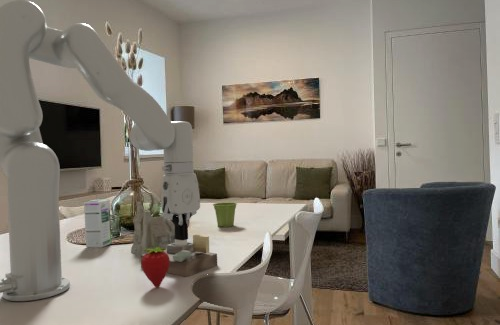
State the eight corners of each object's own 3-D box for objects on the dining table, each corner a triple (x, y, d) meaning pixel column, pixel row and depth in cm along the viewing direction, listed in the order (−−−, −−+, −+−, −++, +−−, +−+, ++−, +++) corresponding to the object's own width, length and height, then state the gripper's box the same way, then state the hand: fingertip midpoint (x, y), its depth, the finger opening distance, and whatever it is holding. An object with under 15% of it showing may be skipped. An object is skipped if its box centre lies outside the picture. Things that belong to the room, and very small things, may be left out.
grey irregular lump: (142, 258, 111) (143, 203, 112) (124, 250, 125) (125, 200, 125) (194, 253, 120) (195, 202, 120) (172, 245, 133) (172, 199, 134)
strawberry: (139, 294, 83) (137, 245, 83) (144, 282, 91) (143, 237, 90) (169, 292, 84) (167, 243, 84) (171, 280, 91) (170, 236, 91)
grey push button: (181, 251, 104) (180, 241, 104) (172, 249, 106) (172, 239, 106) (189, 248, 107) (189, 238, 107) (181, 247, 109) (181, 237, 109)
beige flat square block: (206, 253, 101) (205, 237, 101) (193, 251, 104) (192, 235, 104) (209, 252, 102) (208, 236, 102) (196, 250, 105) (196, 234, 105)
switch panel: (186, 276, 94) (185, 256, 94) (141, 266, 103) (140, 248, 103) (217, 265, 103) (216, 246, 103) (173, 257, 112) (172, 239, 112)
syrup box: (102, 247, 126) (100, 201, 126) (85, 247, 128) (83, 201, 127) (112, 243, 132) (110, 198, 132) (95, 243, 133) (94, 199, 133)
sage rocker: (181, 261, 95) (180, 256, 95) (173, 260, 97) (172, 255, 96) (191, 255, 98) (190, 250, 98) (184, 254, 99) (183, 249, 99)
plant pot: (210, 225, 161) (209, 203, 160) (232, 223, 165) (231, 201, 164) (218, 229, 152) (217, 205, 152) (241, 226, 156) (240, 203, 156)
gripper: (167, 171, 98) (170, 247, 98) (209, 167, 110) (211, 235, 110) (146, 170, 102) (149, 243, 103) (189, 167, 114) (191, 232, 115)
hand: (181, 239), depth 107 cm, fingers closed
